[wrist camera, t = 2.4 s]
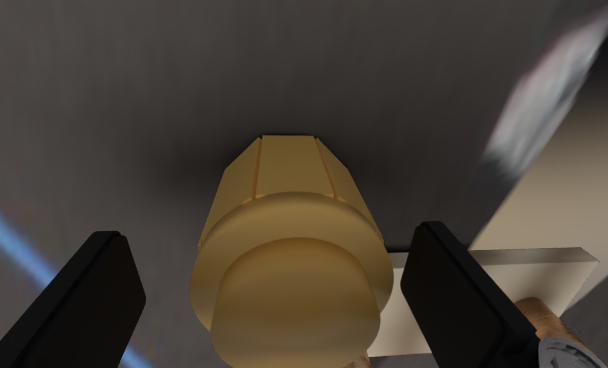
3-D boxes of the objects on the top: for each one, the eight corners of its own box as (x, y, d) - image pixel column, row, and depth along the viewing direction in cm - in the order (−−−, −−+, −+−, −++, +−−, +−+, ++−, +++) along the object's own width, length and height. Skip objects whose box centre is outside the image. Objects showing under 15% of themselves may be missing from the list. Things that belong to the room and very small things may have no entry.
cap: (356, 134, 12) (438, 240, 6) (341, 240, 15) (387, 386, 9) (217, 132, 12) (151, 247, 6) (229, 243, 15) (194, 401, 8)
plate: (580, 247, 17) (599, 261, 16) (525, 329, 21) (538, 345, 20) (286, 255, 16) (287, 272, 14) (284, 344, 19) (285, 362, 18)
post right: (549, 296, 17) (629, 374, 13) (532, 321, 19) (601, 399, 15) (513, 297, 17) (584, 377, 13) (498, 323, 18) (559, 403, 14)
